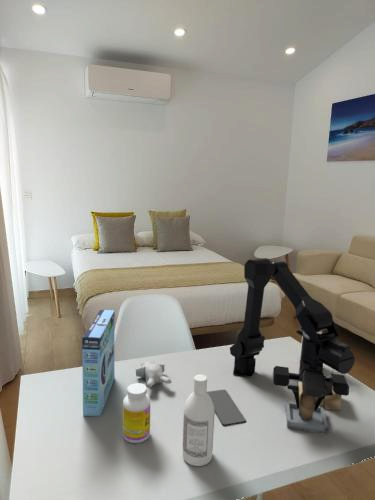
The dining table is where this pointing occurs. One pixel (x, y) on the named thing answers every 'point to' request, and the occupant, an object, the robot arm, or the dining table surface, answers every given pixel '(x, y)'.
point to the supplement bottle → (136, 414)
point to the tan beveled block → (301, 392)
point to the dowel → (306, 407)
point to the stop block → (332, 401)
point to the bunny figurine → (152, 373)
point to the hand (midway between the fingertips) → (306, 408)
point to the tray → (298, 423)
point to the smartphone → (225, 408)
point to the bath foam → (198, 424)
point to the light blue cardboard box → (98, 362)
